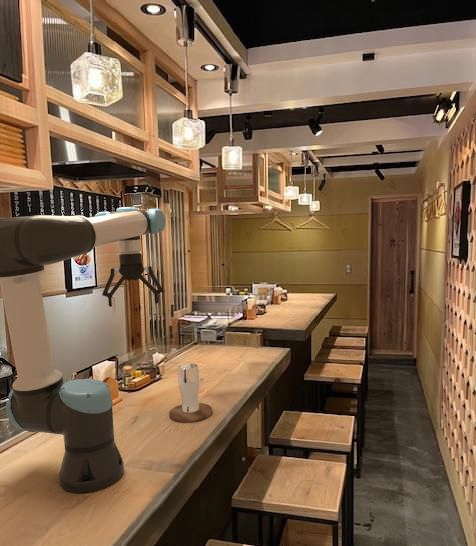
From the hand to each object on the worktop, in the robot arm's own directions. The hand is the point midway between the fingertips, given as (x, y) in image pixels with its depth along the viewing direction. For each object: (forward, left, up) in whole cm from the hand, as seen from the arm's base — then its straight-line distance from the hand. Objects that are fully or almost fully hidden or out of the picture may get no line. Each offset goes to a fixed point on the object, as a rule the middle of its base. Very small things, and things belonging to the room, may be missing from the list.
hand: (134, 314), depth 154 cm
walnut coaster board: (+4, -20, -33) cm, 39 cm away
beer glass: (+4, -20, -32) cm, 38 cm away
